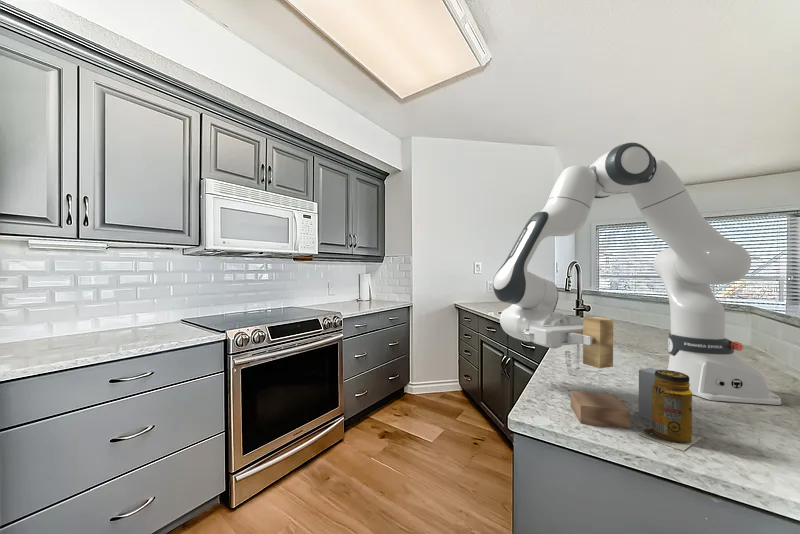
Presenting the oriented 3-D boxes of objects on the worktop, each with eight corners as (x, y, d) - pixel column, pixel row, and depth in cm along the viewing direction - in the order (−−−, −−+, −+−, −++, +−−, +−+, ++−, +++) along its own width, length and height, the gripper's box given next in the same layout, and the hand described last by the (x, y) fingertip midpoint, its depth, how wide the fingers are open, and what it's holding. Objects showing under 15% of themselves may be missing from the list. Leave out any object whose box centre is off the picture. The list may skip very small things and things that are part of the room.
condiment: (701, 439, 65) (701, 374, 65) (683, 451, 61) (683, 382, 61) (655, 424, 71) (655, 365, 71) (636, 435, 67) (636, 372, 67)
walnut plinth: (614, 412, 78) (614, 394, 78) (630, 430, 69) (630, 410, 69) (570, 408, 80) (570, 390, 80) (580, 425, 72) (580, 405, 72)
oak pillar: (595, 361, 78) (596, 316, 78) (612, 366, 74) (613, 319, 74) (582, 363, 76) (583, 317, 76) (599, 368, 72) (600, 320, 72)
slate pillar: (650, 413, 77) (650, 367, 77) (670, 420, 73) (670, 372, 73) (638, 416, 75) (638, 369, 75) (658, 423, 72) (658, 374, 72)
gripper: (517, 318, 83) (565, 327, 70) (580, 315, 91) (633, 322, 78) (517, 345, 83) (565, 359, 70) (579, 339, 91) (633, 351, 78)
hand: (601, 340), depth 74 cm, fingers closed on oak pillar, 4 cm apart
